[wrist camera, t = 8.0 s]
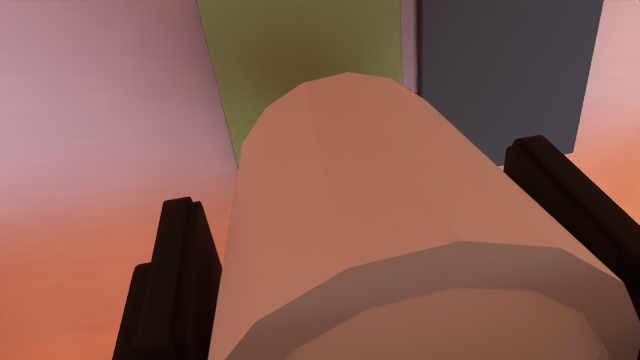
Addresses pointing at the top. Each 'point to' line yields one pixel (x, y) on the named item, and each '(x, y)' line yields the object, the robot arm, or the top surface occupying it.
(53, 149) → the top surface
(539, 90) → the slate mat
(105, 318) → the top surface
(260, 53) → the sage mat
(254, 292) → the cup
